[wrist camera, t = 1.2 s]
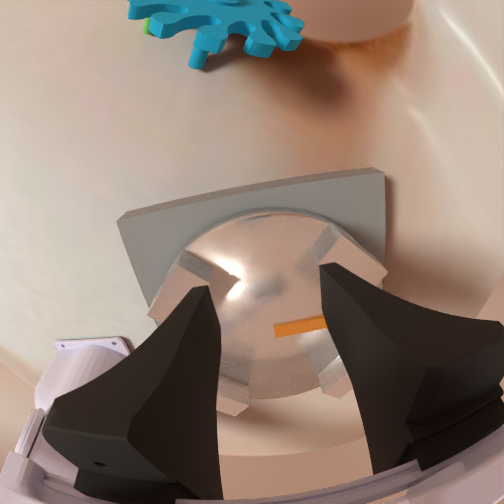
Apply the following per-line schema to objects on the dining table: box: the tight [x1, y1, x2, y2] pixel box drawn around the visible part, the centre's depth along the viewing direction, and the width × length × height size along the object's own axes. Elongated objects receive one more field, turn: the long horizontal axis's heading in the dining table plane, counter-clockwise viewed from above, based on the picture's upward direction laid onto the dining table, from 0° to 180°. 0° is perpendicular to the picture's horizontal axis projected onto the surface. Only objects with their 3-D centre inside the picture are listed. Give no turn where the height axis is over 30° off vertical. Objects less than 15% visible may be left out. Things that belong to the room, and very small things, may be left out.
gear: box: [127, 0, 304, 69], centre depth 13 cm, size 11×6×10 cm
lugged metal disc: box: [147, 207, 388, 417], centre depth 19 cm, size 16×16×4 cm
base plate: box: [117, 167, 386, 325], centre depth 22 cm, size 18×18×2 cm
